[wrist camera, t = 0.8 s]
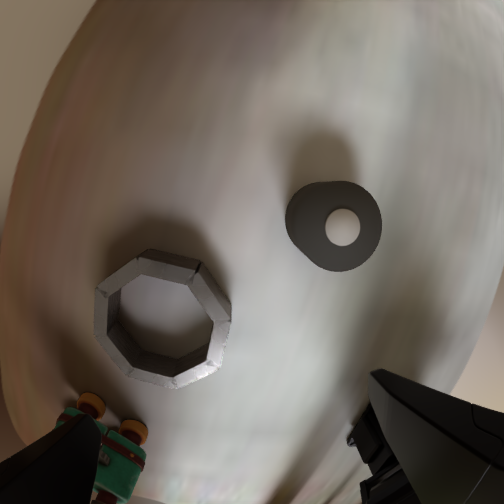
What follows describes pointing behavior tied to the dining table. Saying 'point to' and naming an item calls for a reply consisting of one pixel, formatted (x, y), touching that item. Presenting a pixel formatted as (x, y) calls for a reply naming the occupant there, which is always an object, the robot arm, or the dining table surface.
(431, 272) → the dining table surface
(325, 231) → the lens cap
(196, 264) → the barrel ring
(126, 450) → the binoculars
